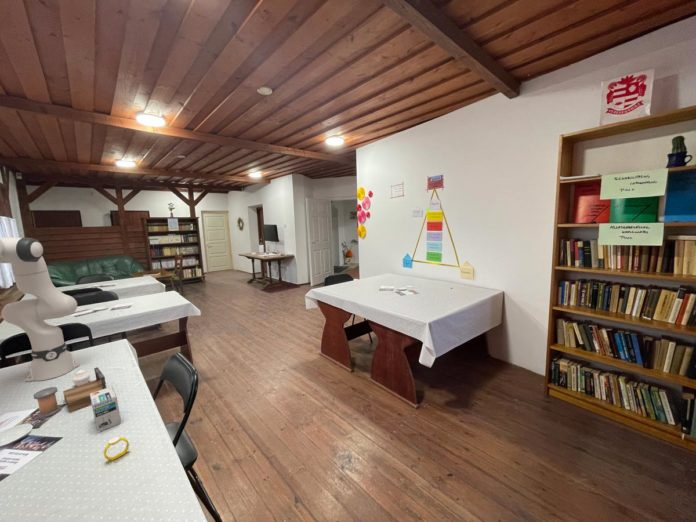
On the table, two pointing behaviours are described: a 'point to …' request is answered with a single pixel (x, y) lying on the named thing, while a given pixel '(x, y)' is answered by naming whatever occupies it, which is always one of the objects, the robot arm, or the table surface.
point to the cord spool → (47, 402)
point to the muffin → (81, 377)
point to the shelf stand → (84, 392)
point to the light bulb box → (105, 408)
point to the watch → (111, 442)
